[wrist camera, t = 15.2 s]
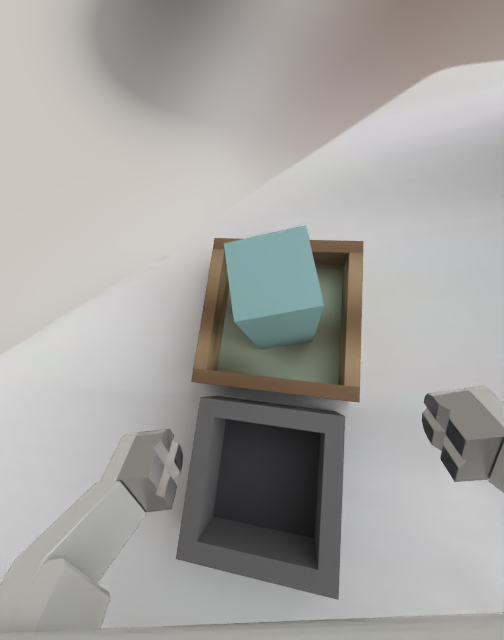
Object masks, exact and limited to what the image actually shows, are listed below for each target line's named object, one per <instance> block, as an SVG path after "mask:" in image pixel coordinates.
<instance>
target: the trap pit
mask: <svg viewBox="0 0 504 640" xmlns="http://www.w3.org/2000/svg"><path fill="white" fill-rule="evenodd" d="M344 430H345V416H343V415H341V414H339V413H338V412H334V411H326V410H319V409H311V408H303V407H296V406H288V405H280V404H273V403H265V402H257V401H250V400H242V399H234V398H227V397H219V396H212V397H201V398H200V405H199V411H198V418H197V424H196V431H195V437H194V444H193V450H192V457H191V463H190V470H189V476H188V483H187V490H186V496H185V503H184V509H183V516H182V522H181V529H180V535H179V542H178V548H177V555H176V559H178V560H182V561H186V562H190V563H194V564H198V565H202V566H206V567H210V568H214V569H218V570H222V571H226V572H230V573H234V574H238V575H242V576H246V577H250V578H254V579H258V580H262V581H266V582H270V583H274V584H278V585H282V586H286V587H290V588H294V589H298V590H302V591H306V592H310V593H314V594H318V595H322V596H326V597H330V598H334V599H338V596H339V568H340V540H341V513H342V485H343V458H344Z"/></svg>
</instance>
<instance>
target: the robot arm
mask: <svg viewBox="0 0 504 640" xmlns="http://www.w3.org/2000/svg"><path fill="white" fill-rule="evenodd" d="M424 403H425V405H426V406H427V409H426V410H425V411H424V412H423V413H422V423H423V428H424V431H425V433H426V435H427V437H428V439H429V441H430V442H431V444H432V445H433V446H435V447H436V448H438V449H439V450H441V451H442V453H441V461H442V462H443V464H444V465H445V467H446V469H447V470H448V472H449V473H450V475H451V477H452V478H453V480H454V481H455V482H460V481H475V480H489V482H490V483H492V484H493V485H494V486H496V487H497V488H498V489H500V490H501V491H502V492H504V403H503V402H502V401H501V400H500V399H499V398H498V397H497V396H496V395H495V394H494V393H493V392H491V391H490V390H489V389H488V388H486V387H484V386H479V387H472V388H464V389H455V390H448V391H441V392H435V393H428V394H427V395H426V396H425V399H424ZM173 437H174V435H173V433H172V431H171V430H170V429H165V430H155V431H146V432H137V433H129V434H125V435H124V436H123V437H122V438H121V440H120V442H119V444H118V446H117V448H116V450H115V452H114V454H113V456H112V458H111V460H110V462H109V464H108V466H107V468H106V470H105V472H104V475H103V477H102V479H101V481H100V483H95V484H94V485H93V486H92V487H91V488H90V489H89V490H88V491H87V492H86V493H85V494H84V495H83V496H81V497H80V498H79V499H78V500H77V501H76V502H75V503H74V504H73V505H72V506H71V507H70V508H69V509H68V510H67V511H66V512H65V513H64V514H63V515H62V516H61V517H59V518H58V519H57V520H56V521H55V522H54V523H53V524H52V525H51V526H50V527H49V528H48V529H47V530H46V531H45V532H44V533H43V534H42V535H41V536H40V537H39V538H37V539H36V540H35V541H34V542H33V543H32V544H31V545H30V546H29V547H28V548H27V549H26V550H25V551H24V552H23V553H22V554H21V555H20V556H19V557H18V558H17V559H15V561H14V562H13V564H12V565H11V567H10V569H9V570H8V572H7V574H6V575H5V577H4V579H3V580H2V582H1V584H0V640H504V613H481V614H456V615H432V616H407V617H382V618H358V619H333V620H308V621H284V622H259V623H235V624H210V625H185V626H161V627H136V628H111V629H100V628H101V625H102V622H103V619H104V616H105V613H106V610H107V607H108V604H109V601H110V595H109V592H108V591H106V590H105V589H104V588H102V587H101V586H99V585H98V584H97V583H98V582H99V580H100V579H101V578H102V576H103V575H104V573H105V572H106V571H107V569H108V568H109V566H110V565H111V564H112V562H113V561H114V559H115V558H116V556H117V555H118V554H119V552H120V551H121V549H122V548H123V547H124V545H125V544H126V542H127V541H128V539H129V538H130V537H131V535H132V534H133V532H134V531H135V530H136V528H137V527H138V525H139V524H140V522H141V521H142V520H143V518H144V517H145V515H146V512H153V511H161V510H168V509H172V505H173V501H174V497H175V493H176V489H177V486H176V483H175V481H174V480H175V479H176V478H177V477H178V475H179V474H180V473H181V468H182V462H183V454H182V450H181V447H180V445H179V444H178V443H176V442H175V441H173Z"/></svg>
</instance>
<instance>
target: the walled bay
mask: <svg viewBox="0 0 504 640" xmlns="http://www.w3.org/2000/svg"><path fill="white" fill-rule="evenodd" d="M237 240H242V239H228V238H215V239H214V245H213V251H212V258H211V264H210V270H209V276H208V282H207V288H206V295H205V301H204V307H203V313H202V319H201V325H200V331H199V338H198V344H197V350H196V356H195V362H194V368H193V375H192V381H191V382H197V383H205V384H213V385H221V386H229V387H237V388H246V389H254V390H262V391H270V392H278V393H286V394H294V395H303V396H311V397H319V398H327V399H335V400H343V401H351V402H359V396H360V357H361V317H362V277H363V241H326V240H309V241H310V245H311V250H312V254H313V258H314V263H315V267H316V272H317V276H318V280H319V285H320V289H321V294H322V298H323V303H324V308H323V311H322V314H321V317H320V320H319V323H318V326H317V330H316V333H315V336H314V339H313V341H308V342H302V343H296V344H291V345H285V346H279V347H273V348H267V349H261V350H260V349H259V348H258V347H257V346H256V345H255V344H254V343H253V342H252V341H251V339H250V338H249V337H248V336H247V335H246V334H245V333H244V332H243V331H242V330H241V329H240V328H239V327H238V326H237V325H236V324H235V323H234V318H233V310H232V303H231V295H230V287H229V280H228V272H227V264H226V257H225V249H224V243H228V242H233V241H237Z"/></svg>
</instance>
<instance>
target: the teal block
mask: <svg viewBox="0 0 504 640" xmlns="http://www.w3.org/2000/svg"><path fill="white" fill-rule="evenodd" d="M224 249H225V257H226V264H227V272H228V280H229V287H230V295H231V303H232V310H233V318H234V323H235V324H236V325H237V326H238V327H239V328H240V329H241V330H242V331H243V332H244V333H245V334H246V335H247V336H248V337H249V338H250V339H251V341H252V342H253V343H254V344H255V345H256V346H257V347H258V348H259V349H260V350H261V349H267V348H273V347H279V346H285V345H291V344H296V343H302V342H308V341H313V339H314V336H315V333H316V330H317V326H318V323H319V320H320V317H321V314H322V311H323V308H324V303H323V298H322V294H321V289H320V285H319V280H318V276H317V272H316V267H315V263H314V258H313V254H312V250H311V245H310V241H309V236H308V232H307V228H306V226H301V227H296V228H292V229H287V230H283V231H278V232H274V233H269V234H265V235H260V236H255V237H251V238H246V239H242V240H237V241H233V242H228V243H224Z"/></svg>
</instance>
